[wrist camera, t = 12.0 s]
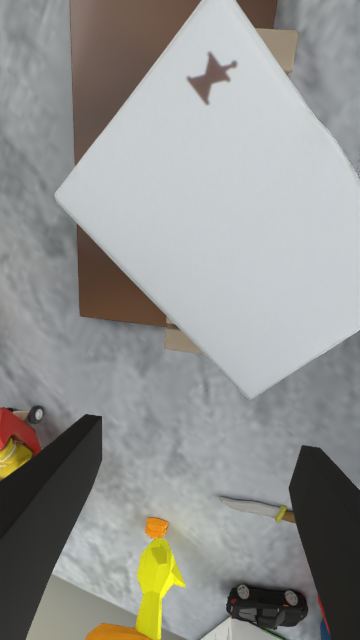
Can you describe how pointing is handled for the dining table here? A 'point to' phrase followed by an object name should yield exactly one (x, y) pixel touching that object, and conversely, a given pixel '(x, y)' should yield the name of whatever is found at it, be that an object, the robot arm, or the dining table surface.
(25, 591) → the robot arm
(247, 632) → the white packaging box
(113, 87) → the book rack
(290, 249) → the cosmetic box
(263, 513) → the knife
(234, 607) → the toy car
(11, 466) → the toy airplane
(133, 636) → the toy figure
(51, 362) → the dining table surface
